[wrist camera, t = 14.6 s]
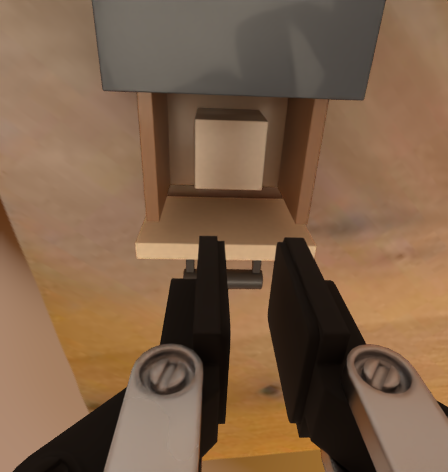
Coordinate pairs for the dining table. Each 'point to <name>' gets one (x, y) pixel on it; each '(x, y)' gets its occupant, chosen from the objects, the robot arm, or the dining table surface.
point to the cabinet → (238, 46)
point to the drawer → (219, 208)
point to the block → (229, 148)
